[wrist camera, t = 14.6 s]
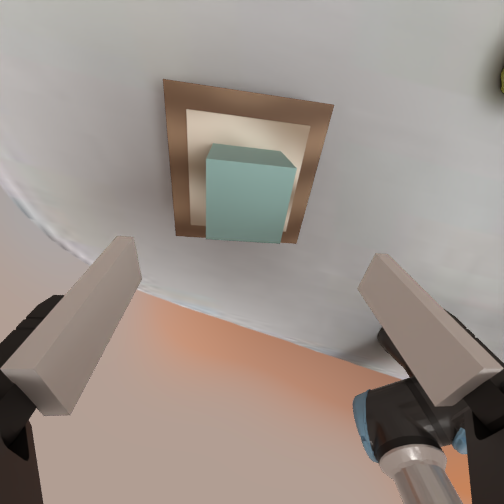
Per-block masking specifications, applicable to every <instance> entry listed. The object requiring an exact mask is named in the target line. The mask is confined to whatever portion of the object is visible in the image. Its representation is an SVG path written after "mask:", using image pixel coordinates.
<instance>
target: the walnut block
mask: <svg viewBox="0 0 504 504" xmlns="http://www.w3.org/2000/svg"><path fill="white" fill-rule="evenodd" d="M163 86H164V98H165V110H166V122H167V134H168V146H169V158H170V170H171V183H172V195H173V207H174V219H175V231H176V236H187V237H202V238H206V158H207V155H208V153H209V151H210V149H211V147H212V144H213V143H215V144H223V145H232V146H240V147H249V148H258V149H266V150H275V151H281V152H282V153H283V154H284V155H285V156H286V157H287V158H288V159H289V160H290V161H291V163H292V164H293V165H294V166H295V167H296V168H297V170H296V175H295V179H294V184H293V188H292V193H291V197H290V202H289V206H288V211H287V215H286V220H285V224H284V229H283V233H282V238H281V242H280V243H294V244H296V243H297V239H298V235H299V232H300V228H301V225H302V221H303V217H304V214H305V210H306V206H307V203H308V199H309V195H310V192H311V188H312V184H313V181H314V177H315V173H316V170H317V166H318V162H319V159H320V155H321V151H322V148H323V144H324V140H325V137H326V133H327V130H328V126H329V122H330V119H331V115H332V111H333V108H334V105H332V104H325V103H319V102H312V101H305V100H299V99H292V98H286V97H279V96H272V95H266V94H259V93H252V92H246V91H239V90H233V89H226V88H219V87H213V86H206V85H200V84H193V83H186V82H180V81H173V80H166V79H163Z"/></svg>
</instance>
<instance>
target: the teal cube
mask: <svg viewBox="0 0 504 504" xmlns="http://www.w3.org/2000/svg"><path fill="white" fill-rule="evenodd" d="M296 170H297V168H296V167H295V166H294V165H293V164H292V163H291V161H290V160H289V159H288V158H287V157H286V156H285V155H284V154H283V153H282V152H281V151H275V150H266V149H258V148H249V147H240V146H232V145H223V144H215V143H213V144H212V147H211V149H210V151H209V153H208V155H207V158H206V239H213V240H229V241H245V242H261V243H277V244H280V242H281V238H282V233H283V229H284V224H285V220H286V215H287V211H288V206H289V202H290V197H291V193H292V188H293V184H294V179H295V175H296Z"/></svg>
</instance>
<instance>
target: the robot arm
mask: <svg viewBox="0 0 504 504" xmlns="http://www.w3.org/2000/svg"><path fill="white" fill-rule="evenodd" d="M141 280H142V277H141V272H140V267H139V262H138V257H137V252H136V247H135V242H134V237H124V236H117V237H116V238H115V239H114V240H113V241H112V243H111V244H110V245H109V246H108V247H107V248H106V249H105V250H104V252H103V253H102V254H101V255H100V256H99V257H98V258H97V260H96V261H95V262H94V263H93V264H92V265H91V266H90V267H89V269H88V270H87V271H86V272H85V273H84V274H83V276H82V277H81V278H80V279H79V280H78V281H77V282H76V283H75V284H74V286H73V287H72V288H71V289H70V290H69V291H68V292H67V294H66V295H53V296H52V297H50V298H48V299H47V300H45V301H44V302H42V303H40V304H39V305H38V306H37V307H36V308H35V309H34V310H33V311H32V312H31V313H30V314H29V315H28V316H27V317H26V319H25V320H23V321H22V322H21V323H20V324H19V325H18V326H17V327H16V330H13V331H12V332H11V333H10V334H9V335H8V336H7V337H6V339H4V340H3V342H1V343H0V504H43V498H42V492H41V485H40V479H39V472H38V466H37V459H36V453H35V446H34V440H33V433H32V426H31V424H30V422H29V418H30V417H31V415H32V414H33V412H34V411H35V409H36V408H37V409H38V410H39V411H40V412H41V413H42V414H43V415H44V416H59V415H60V416H61V415H70V414H71V413H72V411H73V409H74V407H75V405H76V403H77V401H78V399H79V398H80V396H81V394H82V392H83V390H84V388H85V386H86V384H87V383H88V381H89V379H90V377H91V375H92V373H93V371H94V369H95V367H96V365H97V364H98V362H99V360H100V358H101V356H102V354H103V352H104V350H105V348H106V346H107V344H108V343H109V341H110V338H111V337H112V335H113V333H114V331H115V329H116V327H117V325H118V324H119V321H120V320H121V318H122V316H123V314H124V312H125V310H126V308H127V307H128V305H129V303H130V301H131V299H132V297H133V295H134V293H135V291H136V289H137V288H138V286H139V284H140V282H141ZM357 289H358V291H359V292H360V294H361V295H362V297H363V298H364V300H365V301H366V303H367V304H368V306H369V307H370V309H371V310H372V312H373V313H374V315H375V316H376V318H377V319H378V321H379V322H380V324H381V325H382V327H383V328H382V330H381V331H380V333H379V335H378V340H379V342H380V344H381V346H382V347H383V349H384V350H385V351H386V352H387V353H389V354H390V355H391V356H392V357H393V358H394V359H395V360H396V361H397V362H398V363H399V364H400V365H401V366H402V367H403V368H404V369H405V370H406V372H407V374H408V375H409V377H410V378H407V379H404V380H401V381H398V382H395V383H392V384H388V385H385V386H382V387H379V388H376V389H373V390H370V389H369V390H367V391H366V392H364V393H362V394H359V395H357V396H355V398H354V400H353V412H354V418H355V422H356V426H357V429H358V432H359V435H360V436H361V440H362V443H363V446H364V448H365V451H366V453H367V454H368V456H369V458H370V459H371V460H372V461H373V462H377V463H379V465H380V468H381V470H382V471H383V473H385V474H386V475H387V476H389V477H390V478H391V479H393V480H394V481H395V484H396V486H397V489H398V491H399V493H400V496H401V499H402V501H403V504H463V503H462V501H461V500H460V498H459V496H458V494H457V493H456V490H455V489H454V487H453V485H452V484H451V482H450V480H449V478H448V477H447V475H446V473H445V468H446V463H447V458H446V456H445V454H444V452H443V451H442V449H441V447H442V446H446V445H450V444H452V446H453V447H454V449H456V450H457V451H458V452H459V453H461V454H467V455H468V465H469V475H470V485H471V495H472V504H504V363H503V362H502V361H501V360H500V359H499V358H498V357H496V356H495V355H494V354H493V353H492V352H491V351H490V350H489V349H488V348H487V347H486V346H485V345H484V344H483V343H482V342H481V341H480V340H479V339H478V338H475V335H474V334H473V333H472V332H471V331H470V330H469V329H466V327H465V326H464V325H463V324H462V323H461V322H460V321H459V320H458V319H457V318H456V317H455V316H453V315H452V314H450V313H449V312H448V311H446V310H445V309H443V308H442V307H441V306H440V305H439V304H438V303H437V302H436V301H435V300H434V299H433V298H432V297H431V296H430V295H429V294H428V293H427V292H426V291H425V290H424V289H423V288H422V287H421V286H420V285H419V284H418V283H417V282H416V281H415V280H414V279H413V278H412V277H411V276H410V275H409V274H408V273H406V272H405V271H404V270H403V269H402V268H401V267H400V266H399V265H398V264H397V263H396V262H395V261H394V260H393V259H392V258H391V257H390V256H389V255H388V254H378V253H376V254H375V256H374V257H373V259H372V261H371V263H370V265H369V267H368V269H367V271H366V273H365V275H364V277H363V279H362V281H361V283H360V285H359V287H358V288H357Z"/></svg>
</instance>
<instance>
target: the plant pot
mask: <svg viewBox="0 0 504 504" xmlns="http://www.w3.org/2000/svg"><path fill="white" fill-rule="evenodd" d="M501 81H502V87H501V91H502V92H503V93H504V68H503V71H502V73H501Z"/></svg>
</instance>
